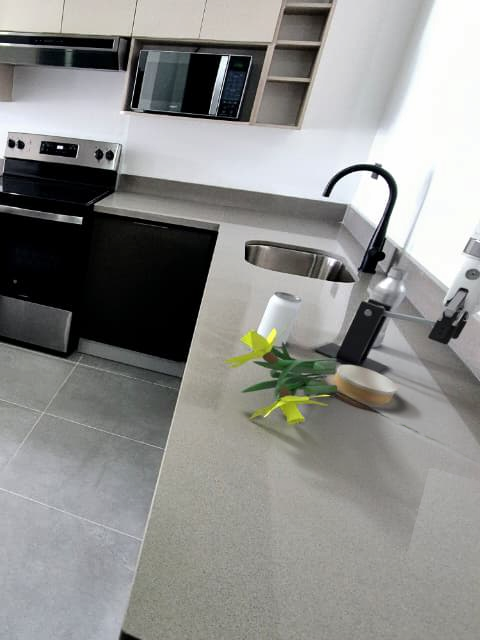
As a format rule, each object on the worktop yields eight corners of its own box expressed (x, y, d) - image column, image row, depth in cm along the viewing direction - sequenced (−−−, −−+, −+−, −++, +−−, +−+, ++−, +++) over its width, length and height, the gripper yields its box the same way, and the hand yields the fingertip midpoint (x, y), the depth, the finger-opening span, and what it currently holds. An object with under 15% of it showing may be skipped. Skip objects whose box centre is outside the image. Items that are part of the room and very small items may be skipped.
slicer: (385, 371, 113) (416, 311, 107) (369, 379, 108) (401, 317, 102) (330, 347, 122) (355, 291, 115) (313, 354, 116) (339, 295, 110)
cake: (386, 387, 106) (394, 371, 104) (411, 422, 93) (421, 405, 92) (313, 368, 109) (320, 353, 108) (328, 400, 97) (337, 383, 95)
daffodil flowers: (377, 417, 94) (316, 429, 71) (292, 417, 105) (214, 428, 81) (363, 328, 97) (299, 312, 73) (281, 337, 107) (203, 326, 84)
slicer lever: (456, 331, 101) (460, 319, 100) (448, 335, 98) (452, 323, 97) (369, 313, 112) (372, 302, 112) (359, 316, 109) (362, 305, 109)
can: (279, 352, 115) (299, 304, 110) (251, 340, 119) (268, 294, 114) (287, 344, 120) (306, 298, 115) (259, 334, 123) (277, 289, 118)
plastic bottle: (348, 344, 125) (384, 268, 117) (349, 336, 130) (383, 263, 122) (378, 353, 122) (417, 277, 114) (378, 345, 127) (415, 271, 119)
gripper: (505, 262, 85) (452, 355, 93) (527, 255, 95) (477, 339, 103) (452, 249, 91) (405, 337, 98) (477, 243, 101) (433, 324, 108)
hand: (442, 337), depth 100 cm, fingers closed on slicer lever, 5 cm apart
